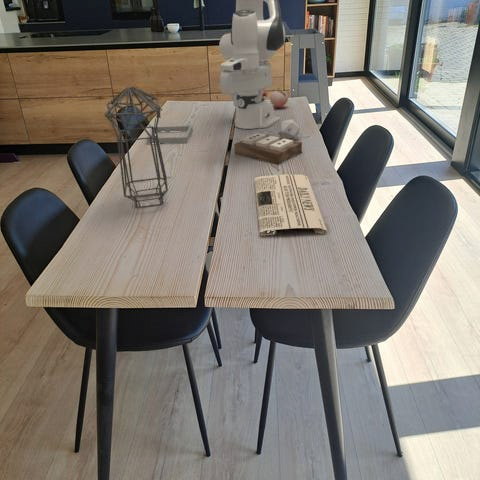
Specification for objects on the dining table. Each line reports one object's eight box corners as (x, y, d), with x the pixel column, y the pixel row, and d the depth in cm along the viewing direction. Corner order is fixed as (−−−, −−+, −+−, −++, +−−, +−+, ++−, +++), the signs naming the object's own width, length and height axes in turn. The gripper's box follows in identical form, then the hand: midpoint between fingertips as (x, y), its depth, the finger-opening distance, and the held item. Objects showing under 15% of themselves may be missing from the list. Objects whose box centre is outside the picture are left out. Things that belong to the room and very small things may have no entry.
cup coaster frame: (155, 132, 207) (154, 126, 206) (192, 130, 206) (192, 125, 205) (147, 144, 192) (146, 138, 191) (187, 143, 191) (186, 137, 190)
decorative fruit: (266, 109, 233) (266, 88, 228) (275, 105, 238) (275, 85, 233) (281, 111, 227) (281, 90, 222) (290, 107, 233) (290, 87, 227)
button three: (257, 140, 183) (257, 132, 181) (266, 142, 180) (265, 134, 178) (243, 146, 177) (242, 138, 175) (251, 148, 174) (251, 140, 173)
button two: (283, 146, 175) (283, 138, 173) (293, 148, 173) (293, 140, 171) (269, 152, 169) (269, 144, 168) (279, 155, 167) (279, 146, 165)
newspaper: (254, 183, 153) (254, 175, 151) (312, 180, 152) (312, 173, 151) (259, 238, 121) (259, 229, 119) (332, 235, 120) (333, 226, 119)
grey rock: (273, 141, 190) (279, 127, 181) (279, 126, 193) (285, 111, 185) (292, 148, 190) (298, 134, 181) (297, 133, 194) (303, 118, 185)
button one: (270, 143, 179) (270, 135, 177) (279, 145, 176) (279, 137, 175) (256, 149, 173) (255, 141, 171) (265, 151, 171) (265, 143, 169)
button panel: (258, 143, 187) (258, 133, 185) (301, 152, 175) (301, 142, 173) (234, 153, 177) (234, 143, 175) (278, 164, 165) (278, 153, 163)
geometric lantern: (123, 215, 136) (99, 95, 118) (124, 193, 149) (103, 83, 131) (175, 208, 138) (160, 90, 120) (172, 188, 151) (157, 78, 134)
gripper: (264, 59, 164) (265, 99, 170) (216, 65, 154) (219, 107, 160) (275, 60, 159) (276, 101, 165) (226, 66, 149) (228, 109, 155)
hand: (247, 104), depth 162 cm, fingers open, 8 cm apart
